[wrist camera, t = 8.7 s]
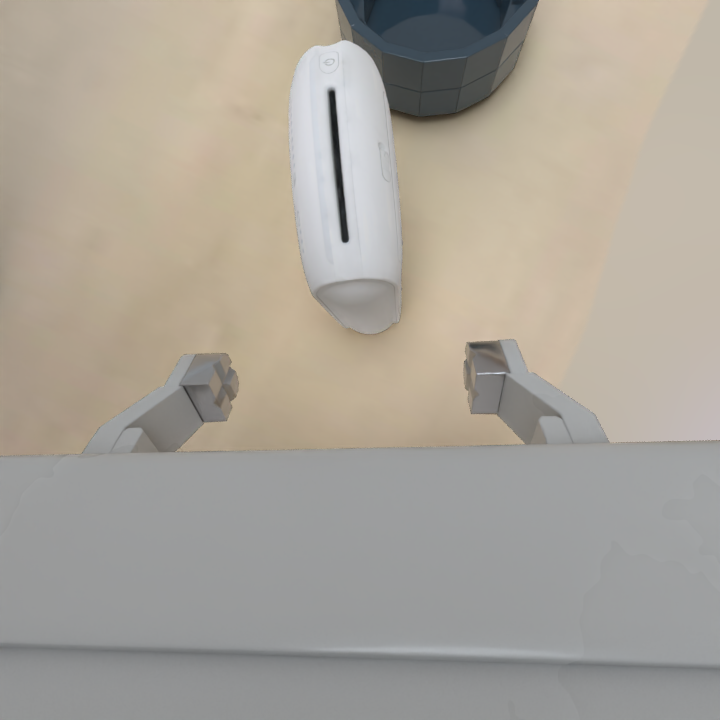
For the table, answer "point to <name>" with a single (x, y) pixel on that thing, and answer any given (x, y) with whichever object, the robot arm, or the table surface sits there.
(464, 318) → the table surface
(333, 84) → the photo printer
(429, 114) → the bowl
